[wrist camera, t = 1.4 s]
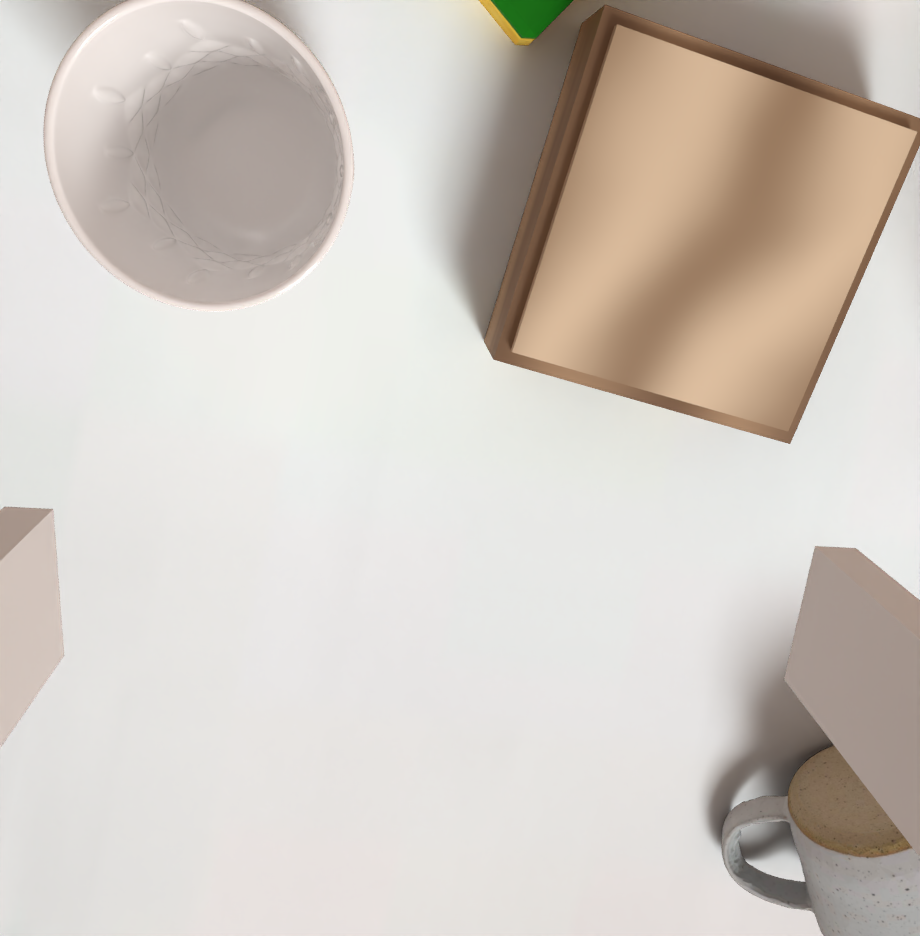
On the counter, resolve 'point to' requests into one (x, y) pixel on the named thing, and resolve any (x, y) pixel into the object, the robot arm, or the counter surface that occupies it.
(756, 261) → the walnut plinth
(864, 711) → the robot arm
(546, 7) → the dish sponge
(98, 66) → the white cup
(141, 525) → the counter surface
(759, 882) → the ceramic mug
